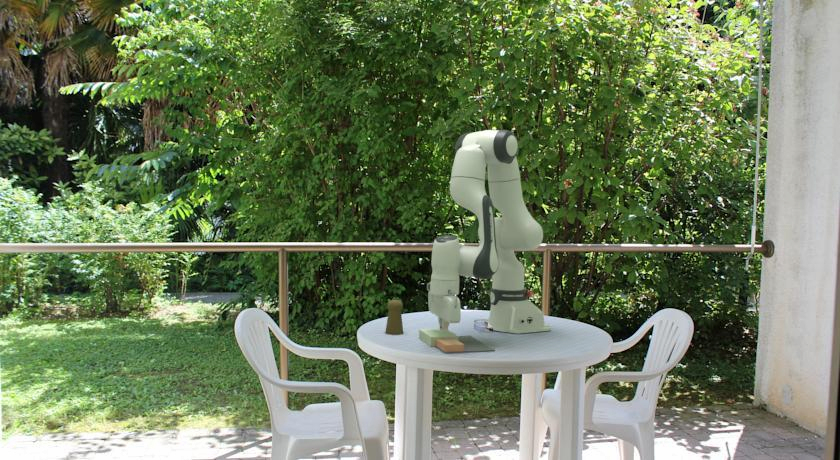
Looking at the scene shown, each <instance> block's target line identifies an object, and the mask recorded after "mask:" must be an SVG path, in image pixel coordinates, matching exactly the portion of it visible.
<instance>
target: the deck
mask: <svg viewBox="0 0 840 460" xmlns="http://www.w3.org/2000/svg"><path fill="white" fill-rule="evenodd" d="M458 336H459V335H457V334H456V333H454V332H452V331H450V330H449V329H448V333H442V332H441V331H440V330H439V328H420V329H418V339H419V340H421V341H422V342H423V343H425V344H426V345H428V346H429V347H435V339H445V338H454V339H456V340H458ZM435 348H436V347H435Z"/></svg>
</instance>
